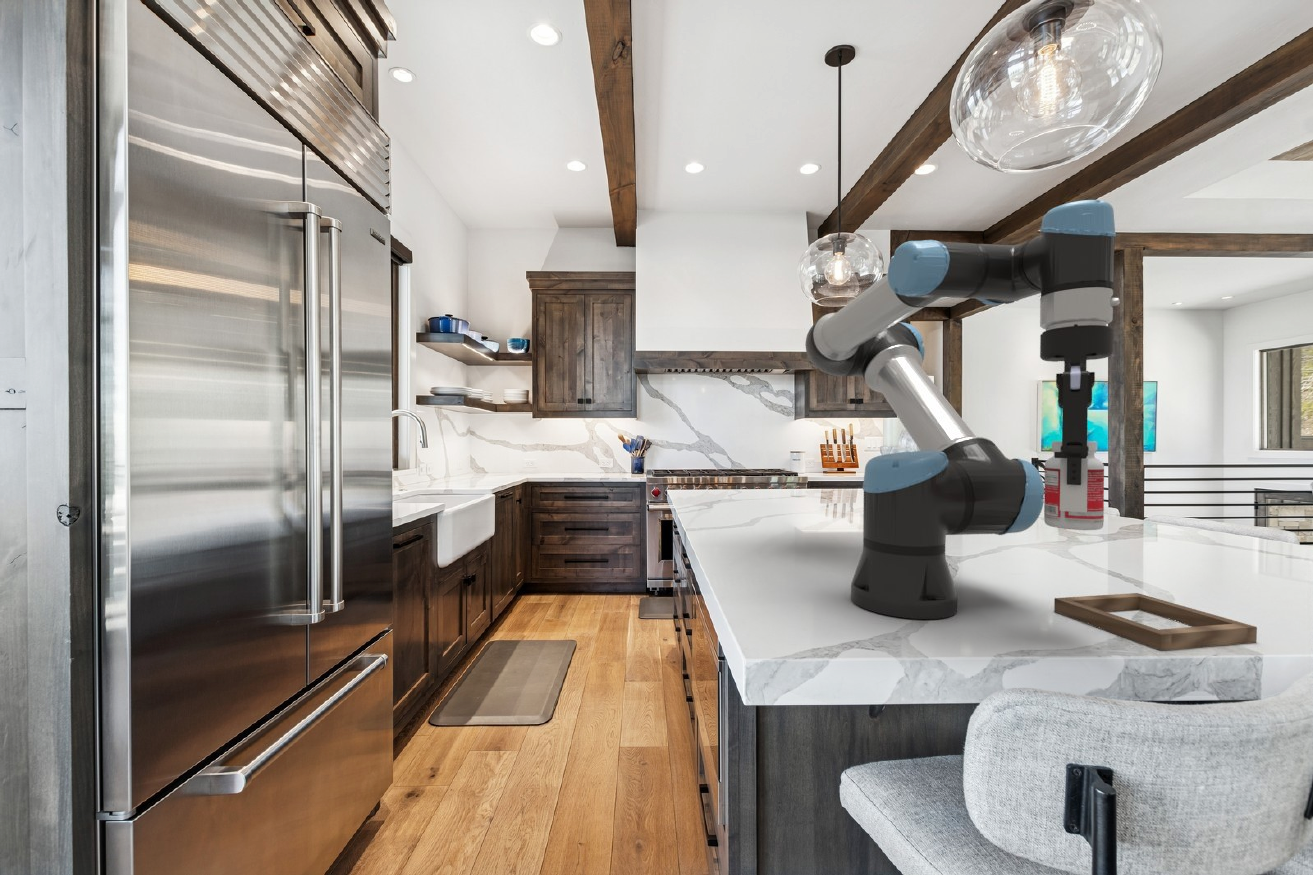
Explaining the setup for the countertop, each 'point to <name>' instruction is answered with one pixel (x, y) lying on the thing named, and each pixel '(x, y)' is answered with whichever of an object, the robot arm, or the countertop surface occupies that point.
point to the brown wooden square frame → (1202, 634)
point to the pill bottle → (1094, 494)
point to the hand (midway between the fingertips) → (1073, 508)
